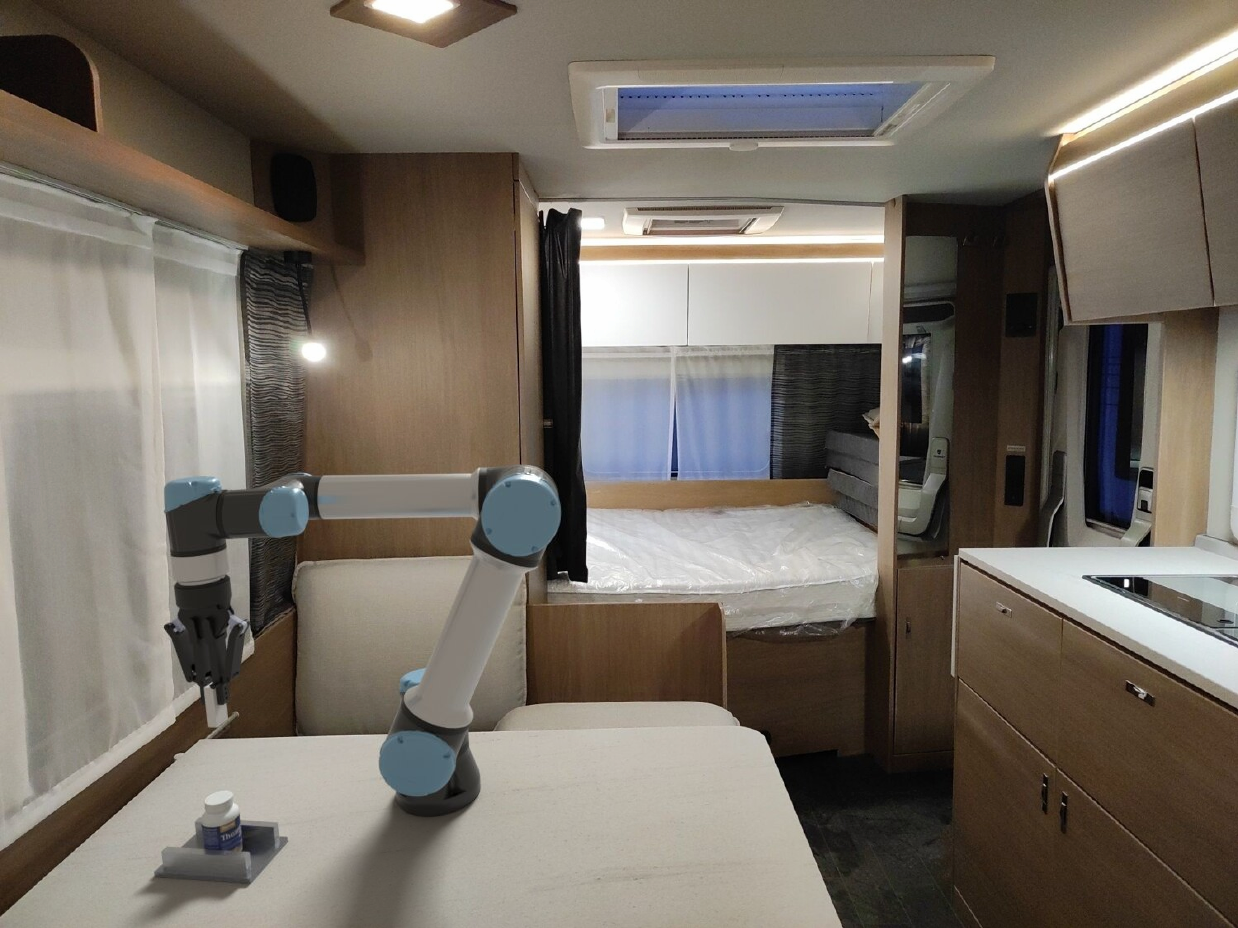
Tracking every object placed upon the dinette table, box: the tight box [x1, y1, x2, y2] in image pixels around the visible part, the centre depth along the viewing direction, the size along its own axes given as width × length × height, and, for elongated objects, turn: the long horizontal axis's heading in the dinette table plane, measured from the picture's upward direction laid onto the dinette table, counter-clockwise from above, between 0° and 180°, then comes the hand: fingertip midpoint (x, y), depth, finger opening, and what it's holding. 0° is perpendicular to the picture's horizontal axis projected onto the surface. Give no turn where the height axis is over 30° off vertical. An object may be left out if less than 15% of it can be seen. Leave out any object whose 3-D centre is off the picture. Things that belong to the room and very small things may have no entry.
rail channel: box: [153, 816, 289, 885], centre depth 116 cm, size 16×10×4 cm, turn 83°
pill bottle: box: [201, 790, 243, 852], centre depth 116 cm, size 5×5×10 cm
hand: (218, 722), depth 114 cm, fingers closed
